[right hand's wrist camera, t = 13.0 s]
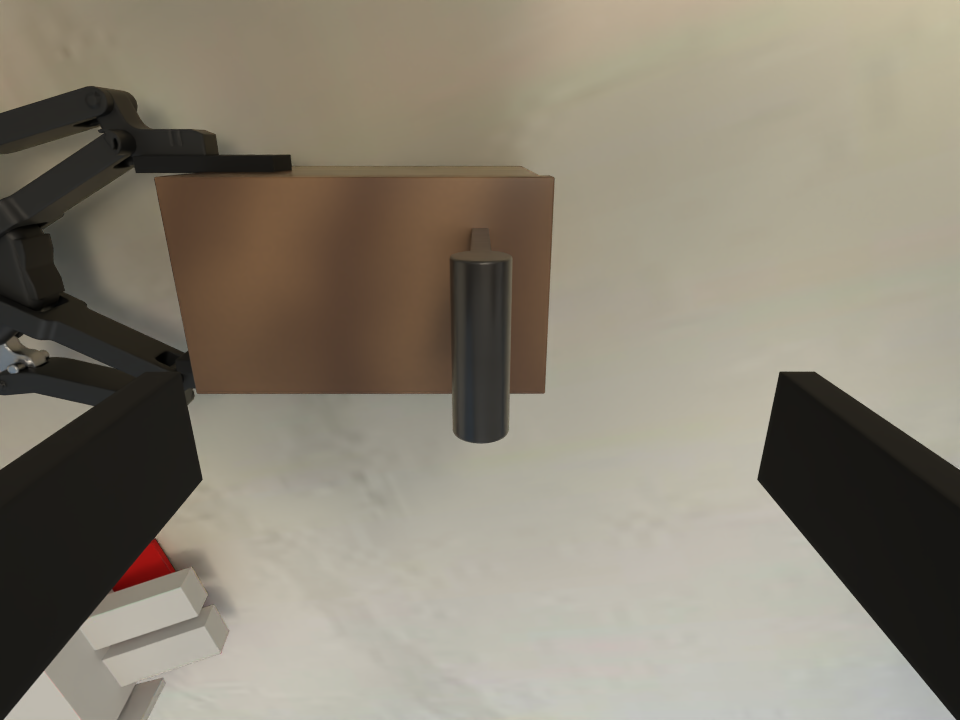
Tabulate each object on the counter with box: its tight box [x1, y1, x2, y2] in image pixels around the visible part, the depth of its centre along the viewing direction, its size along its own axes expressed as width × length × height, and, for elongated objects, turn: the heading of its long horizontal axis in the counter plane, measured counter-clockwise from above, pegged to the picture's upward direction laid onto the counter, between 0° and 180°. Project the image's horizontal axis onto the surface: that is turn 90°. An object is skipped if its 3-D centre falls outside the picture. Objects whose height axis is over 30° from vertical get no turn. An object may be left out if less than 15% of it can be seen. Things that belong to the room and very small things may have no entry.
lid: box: [154, 175, 555, 443], centre depth 21 cm, size 16×10×9 cm, turn 90°
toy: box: [4, 539, 229, 720], centre depth 41 cm, size 12×13×30 cm
